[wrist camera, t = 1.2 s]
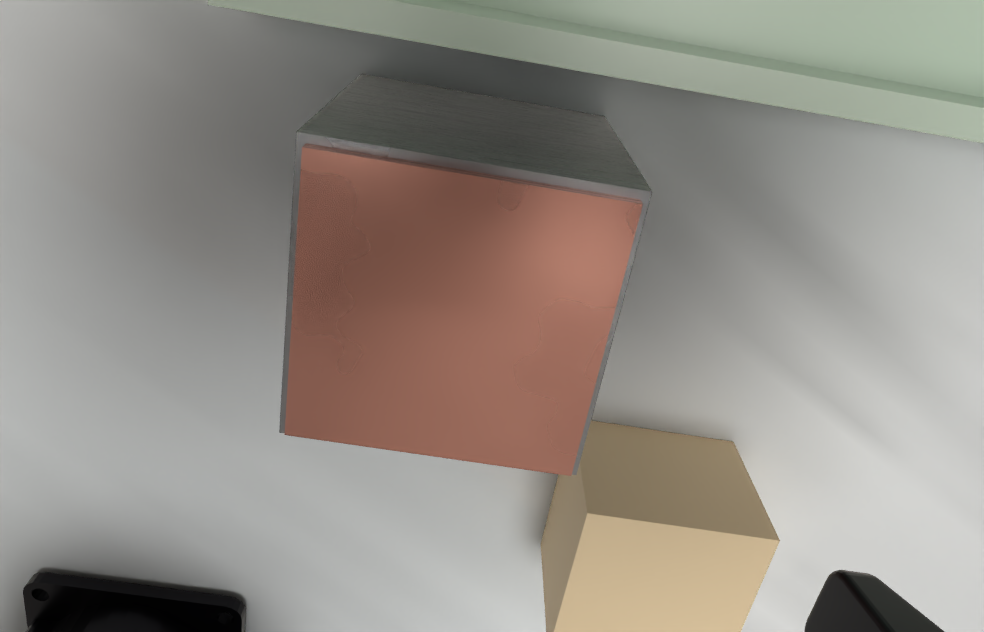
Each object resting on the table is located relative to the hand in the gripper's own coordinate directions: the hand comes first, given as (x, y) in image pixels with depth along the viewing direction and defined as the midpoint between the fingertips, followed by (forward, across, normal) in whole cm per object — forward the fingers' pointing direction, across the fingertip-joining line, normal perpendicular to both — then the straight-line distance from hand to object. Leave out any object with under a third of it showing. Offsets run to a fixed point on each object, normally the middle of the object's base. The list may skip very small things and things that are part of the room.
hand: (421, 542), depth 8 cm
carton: (+11, -6, +7) cm, 15 cm away
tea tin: (+11, 0, 0) cm, 11 cm away
